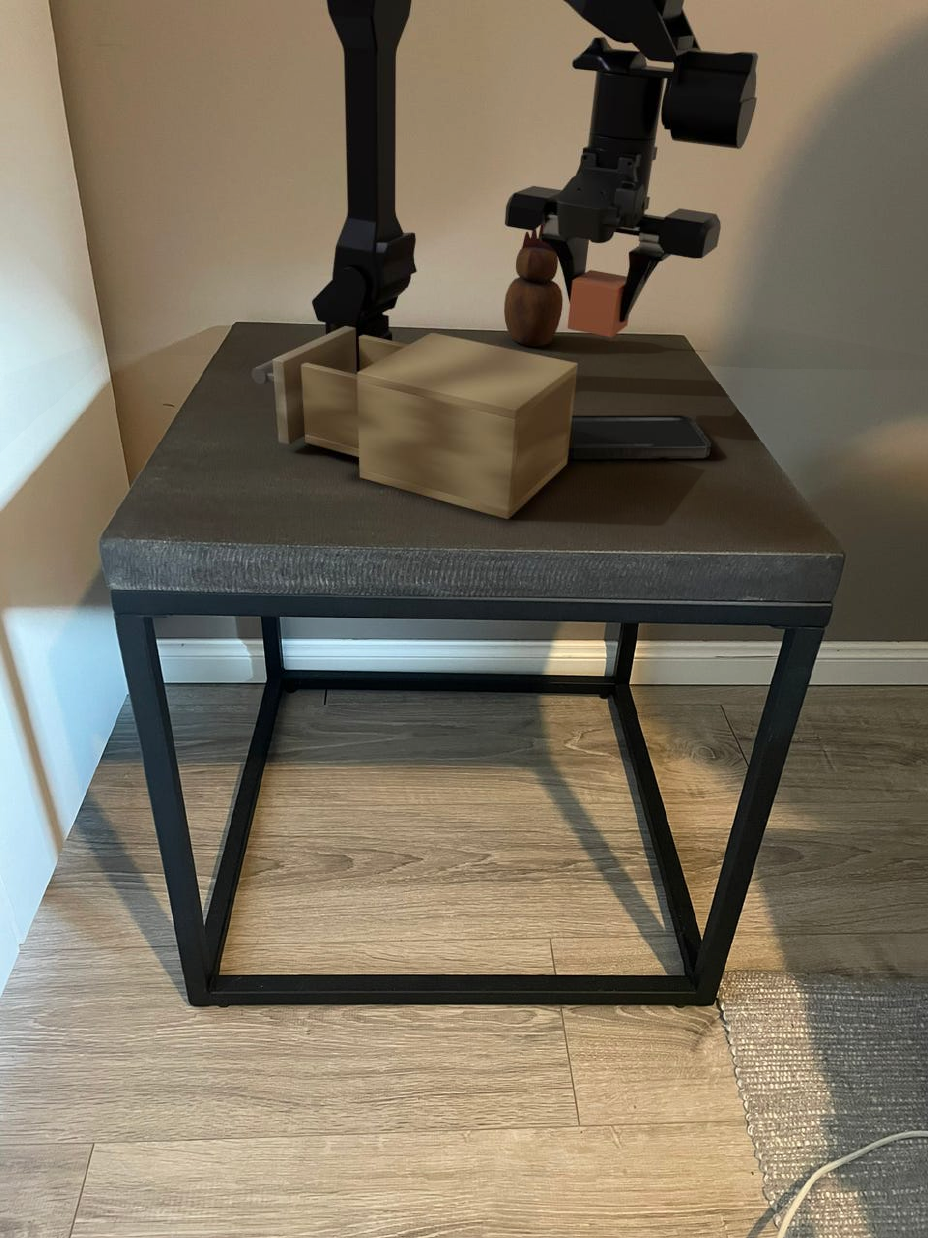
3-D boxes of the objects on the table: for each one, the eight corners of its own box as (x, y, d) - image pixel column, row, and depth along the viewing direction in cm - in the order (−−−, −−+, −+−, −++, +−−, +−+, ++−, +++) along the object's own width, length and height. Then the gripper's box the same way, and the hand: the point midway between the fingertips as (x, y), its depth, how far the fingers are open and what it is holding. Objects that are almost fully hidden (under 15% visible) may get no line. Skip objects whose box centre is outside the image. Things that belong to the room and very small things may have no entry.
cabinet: (359, 477, 84) (356, 372, 78) (429, 429, 93) (431, 332, 88) (508, 519, 78) (516, 409, 73) (566, 464, 88) (578, 363, 82)
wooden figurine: (565, 342, 117) (579, 212, 108) (543, 354, 113) (555, 220, 104) (518, 330, 120) (527, 203, 111) (494, 342, 115) (502, 211, 107)
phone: (543, 415, 94) (689, 414, 96) (542, 426, 95) (688, 425, 96) (558, 448, 88) (714, 447, 89) (556, 459, 88) (712, 458, 90)
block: (567, 328, 90) (572, 279, 87) (584, 316, 93) (590, 269, 91) (611, 337, 88) (618, 288, 86) (627, 325, 92) (634, 277, 89)
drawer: (241, 431, 89) (233, 349, 84) (312, 393, 97) (308, 317, 93) (404, 477, 82) (405, 391, 78) (466, 432, 91) (469, 352, 86)
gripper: (484, 131, 79) (473, 319, 88) (703, 160, 72) (667, 360, 81) (537, 118, 87) (522, 291, 96) (738, 143, 80) (702, 326, 89)
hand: (598, 316), depth 90 cm, fingers closed on block, 4 cm apart
